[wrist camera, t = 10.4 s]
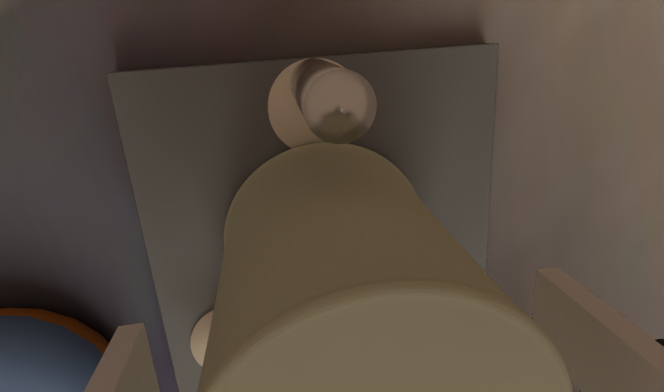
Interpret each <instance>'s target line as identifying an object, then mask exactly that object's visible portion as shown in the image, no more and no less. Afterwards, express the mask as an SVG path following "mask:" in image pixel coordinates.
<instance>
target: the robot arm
mask: <svg viewBox="0 0 664 392" xmlns="http://www.w3.org/2000/svg"><path fill="white" fill-rule="evenodd" d="M533 320H534V321H535V322H536V323H538V324H539V325H540V326H541V327H542V329H543V330H544V331H545V332H546V334H547V335H548V336H549V337H550V338H551V340H552V341H553V342H554V344H555V345H556V347H557V348H558V350H559V352H560V353H561V355H562V357H563V360H564V362H565V364H566V366H567V369H568V372H569V375H570V379H571V381H572V382H573V384H574V385H575V386H576V387H577V388H578V389H579V390H580V391H581V392H664V339H657V340H654V339H653V338H651V337H650V336H649V335H647V334H646V333H645V332H643V331H642V330H641V329H639V328H638V327H637V326H635V325H634V324H633V323H631V322H630V321H629V320H627V319H626V318H625V317H623V316H622V315H621V314H619V313H618V312H617V311H616V310H614V309H613V308H612V307H610V306H609V305H608V304H606V303H605V302H604V301H602V300H601V299H600V298H598V297H597V296H596V295H594V294H593V293H592V292H590V291H589V290H588V289H586V288H585V287H584V286H582V285H581V284H580V283H578V282H577V281H576V280H574V279H573V278H572V277H570V276H569V275H568V274H566V273H565V272H564V271H562V270H561V269H560V268H558V267H552V268H545V269H537V273H536V284H535V296H534V307H533ZM84 392H160V390H159V385H158V381H157V377H156V373H155V368H154V364H153V360H152V356H151V352H150V347H149V343H148V339H147V335H146V331H145V326H144V323H138V324H131V325H123V326H118V328H117V329H116V331H115V333H114V335H113V337H112V339H111V341H110V343H109V345H108V347H107V348H106V350H105V352H104V354H103V356H102V358H101V360H100V362H99V364H98V366H97V367H96V369H95V371H94V373H93V375H92V377H91V379H90V381H89V383H88V385H87V386H86V388H85V390H84Z"/></svg>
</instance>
